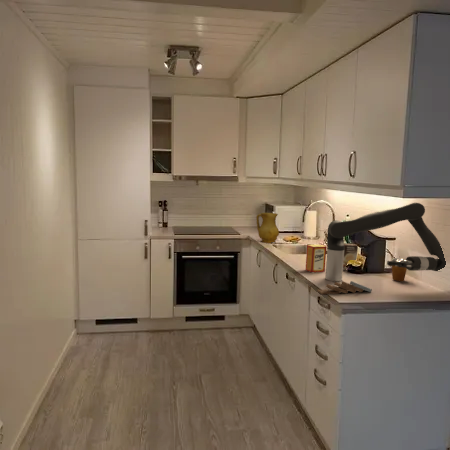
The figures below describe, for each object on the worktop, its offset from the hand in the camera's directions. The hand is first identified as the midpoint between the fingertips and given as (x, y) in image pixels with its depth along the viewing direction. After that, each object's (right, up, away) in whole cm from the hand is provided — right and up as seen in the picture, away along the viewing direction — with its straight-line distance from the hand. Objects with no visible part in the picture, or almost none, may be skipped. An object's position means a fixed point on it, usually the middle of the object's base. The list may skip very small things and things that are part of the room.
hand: (388, 263), depth 222 cm
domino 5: (-10, -14, 0) cm, 17 cm away
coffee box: (-7, -8, +49) cm, 50 cm away
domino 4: (-15, -13, -1) cm, 20 cm away
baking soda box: (-29, -9, +41) cm, 51 cm away
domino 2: (-24, -13, -4) cm, 28 cm away
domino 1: (-27, -14, -5) cm, 31 cm away
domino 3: (-19, -14, -2) cm, 24 cm away
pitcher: (-48, +5, +144) cm, 152 cm away
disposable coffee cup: (+16, -12, +27) cm, 33 cm away
